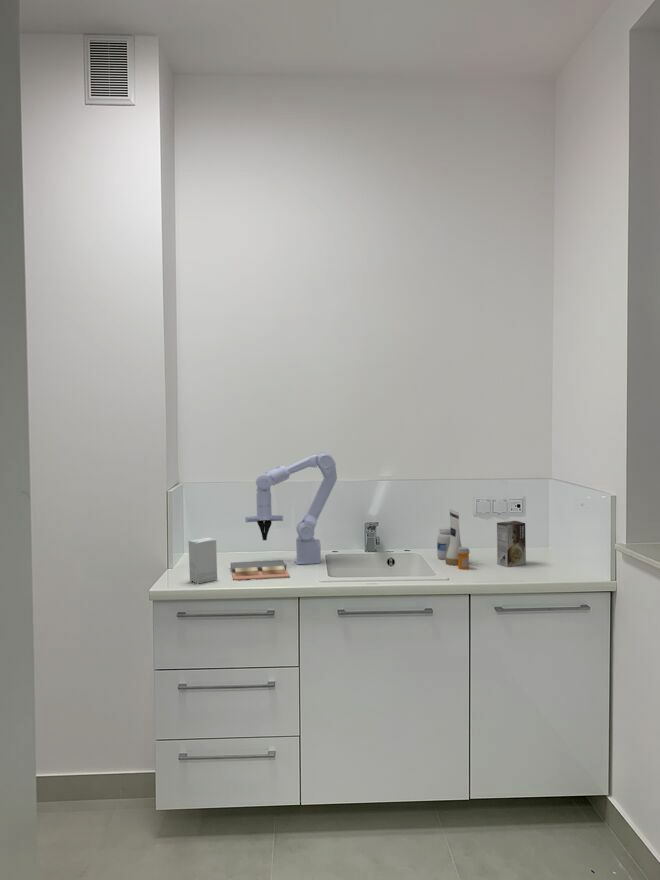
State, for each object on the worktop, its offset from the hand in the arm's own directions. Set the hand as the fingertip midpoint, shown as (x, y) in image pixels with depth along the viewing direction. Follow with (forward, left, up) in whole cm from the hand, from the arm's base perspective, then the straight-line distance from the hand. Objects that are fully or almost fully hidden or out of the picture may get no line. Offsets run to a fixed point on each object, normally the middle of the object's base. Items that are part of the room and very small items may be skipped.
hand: (264, 539), depth 274 cm
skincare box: (+24, +23, -10) cm, 35 cm away
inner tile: (-1, +18, -9) cm, 21 cm away
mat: (+4, +20, -9) cm, 23 cm away
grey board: (+4, +10, -9) cm, 14 cm away
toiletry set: (-72, +16, -10) cm, 74 cm away
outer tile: (+8, +18, -9) cm, 22 cm away
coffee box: (-92, +24, -10) cm, 96 cm away
